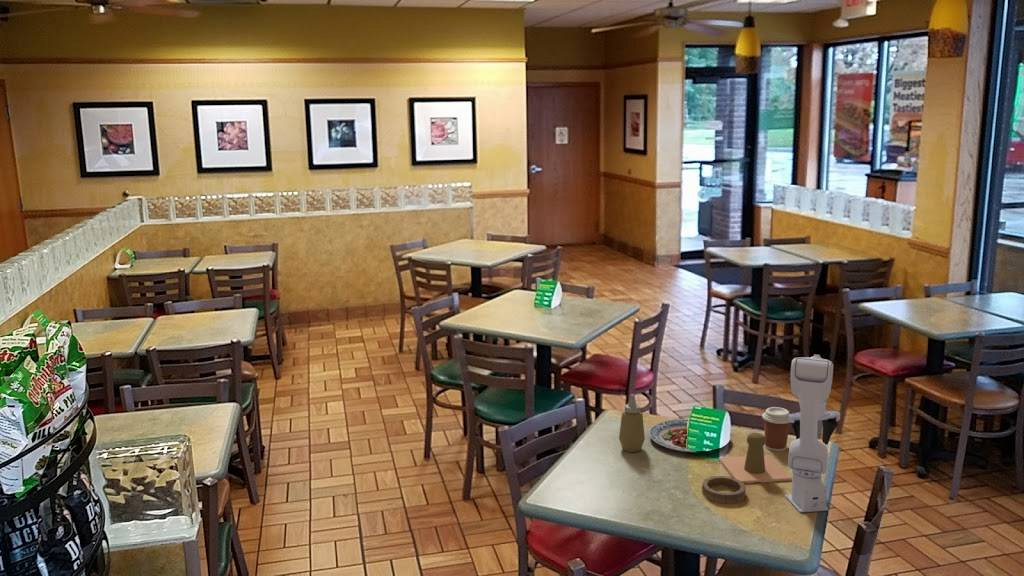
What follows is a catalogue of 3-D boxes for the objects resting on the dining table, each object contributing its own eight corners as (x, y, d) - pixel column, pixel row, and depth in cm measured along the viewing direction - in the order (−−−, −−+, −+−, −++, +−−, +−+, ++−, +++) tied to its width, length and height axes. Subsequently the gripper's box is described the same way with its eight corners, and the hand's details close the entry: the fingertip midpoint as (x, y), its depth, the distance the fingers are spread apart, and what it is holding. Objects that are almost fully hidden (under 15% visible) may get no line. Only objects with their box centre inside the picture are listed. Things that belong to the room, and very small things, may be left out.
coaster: (791, 480, 236) (791, 477, 236) (737, 483, 234) (737, 481, 234) (769, 457, 251) (769, 454, 251) (718, 460, 250) (718, 457, 250)
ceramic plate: (740, 434, 270) (740, 425, 269) (716, 464, 248) (717, 455, 247) (665, 420, 282) (665, 411, 282) (636, 447, 261) (637, 438, 260)
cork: (764, 465, 244) (765, 430, 242) (766, 474, 238) (768, 439, 236) (743, 464, 245) (744, 429, 243) (745, 473, 239) (746, 438, 237)
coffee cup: (755, 441, 263) (757, 406, 260) (783, 440, 264) (785, 404, 261) (767, 453, 254) (769, 417, 251) (795, 451, 255) (798, 415, 252)
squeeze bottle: (613, 446, 261) (614, 393, 257) (635, 441, 265) (636, 388, 261) (627, 456, 254) (628, 401, 250) (649, 451, 257) (650, 396, 253)
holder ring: (751, 501, 224) (751, 493, 223) (710, 504, 223) (710, 496, 222) (735, 482, 235) (736, 474, 235) (697, 485, 234) (697, 477, 233)
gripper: (833, 393, 237) (830, 437, 240) (784, 395, 235) (782, 439, 238) (845, 401, 230) (841, 446, 233) (795, 404, 228) (792, 449, 231)
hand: (812, 444), depth 235 cm, fingers open, 7 cm apart
